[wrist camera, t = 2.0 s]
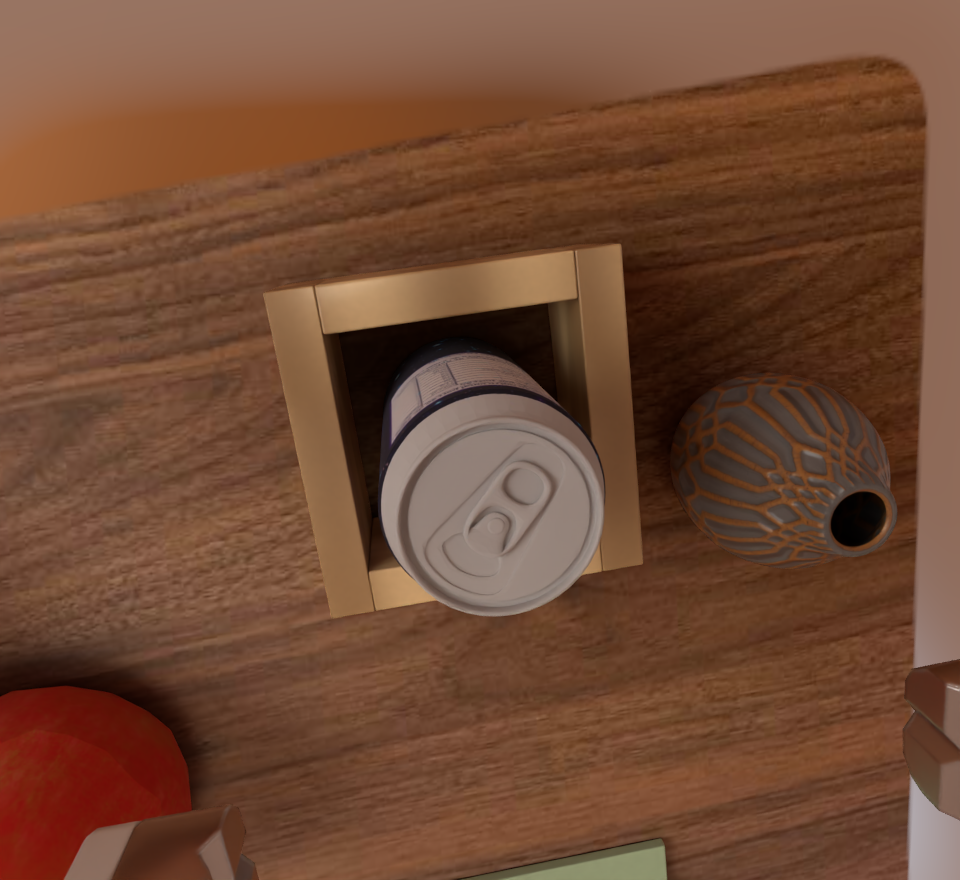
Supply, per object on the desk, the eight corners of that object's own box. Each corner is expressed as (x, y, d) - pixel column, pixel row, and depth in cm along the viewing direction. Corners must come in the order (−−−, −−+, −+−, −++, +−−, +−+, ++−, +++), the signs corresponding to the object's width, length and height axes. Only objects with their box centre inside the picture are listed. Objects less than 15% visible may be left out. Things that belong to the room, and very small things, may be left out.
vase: (642, 372, 28) (748, 427, 20) (806, 348, 29) (977, 391, 20) (652, 531, 30) (752, 642, 22) (805, 505, 31) (961, 604, 22)
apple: (-65, 861, 30) (-297, 1173, 20) (-58, 638, 28) (-321, 867, 17) (196, 878, 32) (104, 1173, 22) (226, 670, 29) (137, 894, 19)
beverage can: (355, 427, 27) (327, 559, 16) (436, 304, 26) (469, 350, 15) (474, 500, 29) (528, 670, 17) (556, 386, 28) (669, 485, 16)
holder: (580, 243, 27) (621, 243, 22) (603, 513, 30) (644, 564, 25) (287, 283, 26) (262, 292, 21) (341, 557, 29) (331, 619, 24)
